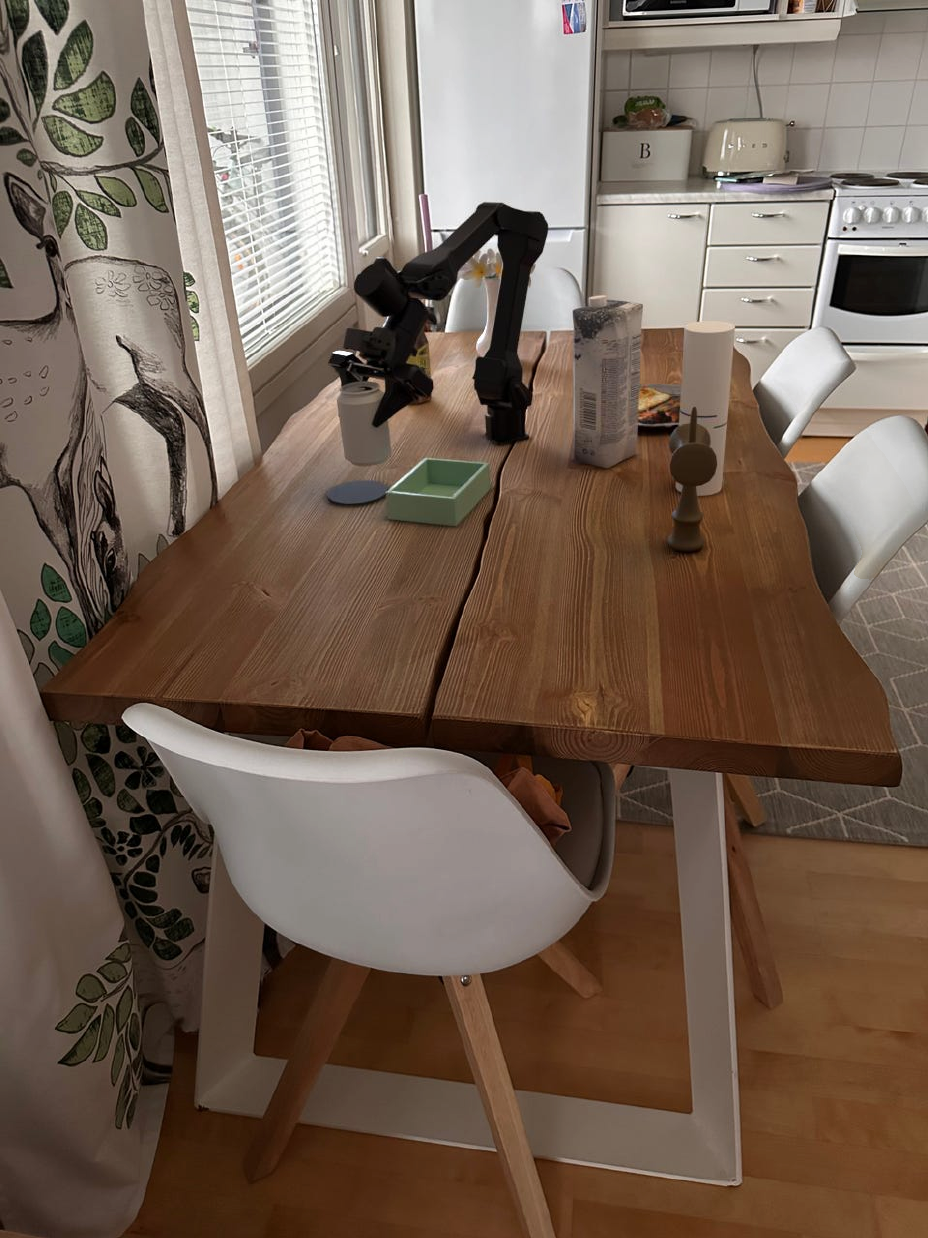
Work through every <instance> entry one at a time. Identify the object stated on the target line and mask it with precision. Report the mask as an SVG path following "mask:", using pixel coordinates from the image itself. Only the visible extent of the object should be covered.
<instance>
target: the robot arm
mask: <svg viewBox="0 0 928 1238" xmlns="http://www.w3.org/2000/svg"><path fill="white" fill-rule="evenodd" d="M548 234H549V223H548V221H547V220H546V216H545V215H544V214H543V213H542V212H540V211H537V210H536V211H534V210H522V209H519V208H516V207H513V206H511V205H508V204H506V203H504V202H495V201H494V202H492V201H484V202H483V201H482V203H479V204H478V205H477V206H476V207H475V211H474V212H473V213H472V214H471V215H470V216H468V217H467V218H466V219H465V220H464V222H463V223H461V224H460V225H459V226H458V227H457V228H456V229H455V230H454V231H453V232H452V233H451V234H450V235H448V237H447V238H446V239H445V240H443V241H442V242H441V243H440V244H439V245H438V246H437V247H435V248H433V249H431V250H428V251H425V252H421V253H420V254H418V255H416V256H414V257H413V258H411V259H410V260H408V261H407V262H406V263H405V264H404V265H403V267H402V268H401V270H399V271H397V270H396V269H395V267H393V265H392V263H391V261H389V260H388V258H386V257H376V258H375V260H374V261H373V263H371V264H368V266H366V267H364V269H363V270H361V271H360V273H358V274H357V275H356V277H355V279H354V282H353V290H354V293H355V294H356V295H357V296H358V297H359V298H360V299H361V300H362V301H363V302H364V303H365V304H366V305H367V306H368V307H369V308H370V309H371V310H372V311H374V313H375V314H376V315H378V316H379V317H382V318H386V319H385V321H384V323H383V325H382V326H374V328H373V329H372V331H371V330H366V329H360V328H354V327H346V329H345V333H344V339H343V344H342V349H344V350H353V351H356V352H359V354H358V356H356V355H355V354H354V353H353V352H347V351H343V350H342V351H341V350H338V351H337V350H336V351H334V352H332V354H331V356H330V358H329V360H328V362H327V365H328V366H329V367H331V368H332V369H333V370H334V372H335V373H336V374H337V375H338V377H339V379H340V388H341V387H342V386H344V385H346V384H350V383H354V382H363V381H369V379H370V378H371V379H377V380H381V381H384V395H383V397H382V400H381V402H380V404H379V407H378V409H377V411H376V414H375V416H374V419H373V422H372V425H373V426H374V427H376V428H378V427H379V426H381V425H382V424H383V423H384V422H386V421H387V420H388V421H389V419H392V417H393V416H394V415H397V413H398V412H400V411H401V410H403V409H405V408H406V407H407V406H409V405H411V404H413V403H412V402H413V401H418V400H419V398H418V397H422V398H427V399H429V397H430V395H431V393H433V391H434V389H435V385H434V379H432V377H431V378H430V377H429V376H428V375H427V374H426V373H425V372H424V371H423V370H422V369H421V368H420V367H419V366H418V365H414V364H409V363H407V361H408V359H409V357H410V356H413V357H416V355H417V353H418V351H417V350H416V349H415V348H414V346H415V344H416V342H417V340H418V338H419V336H420V334H421V332H422V330H424V328H425V325H431V326H437V324H438V319H437V316H436V314H435V308H434V307H433V306H427V305H425V303H424V302H423V301H422V300H426V301H435V302H440V301H441V302H442V301H443V300H444V299H445V298H446V297H447V296H448V295H449V293H450V292H451V291H452V290H453V288H454V287H455V285H456V284H457V282H458V276H459V272H460V271H459V270H460V269H461V268H462V267H463V266H464V265H465V264H467V262H468V261H469V260H470V259H471V258H472V257H474V255H475V254H476V253H477V252H478V251H479V250H480V251H481V249H482V248H483V247H484V246H485V245H486V244H487V243H489V241H490V240H491V239H493V237H494V236H495V237H496V238H497V239H496V248H497V250H498V253H499V254H500V256H501V259H502V262H503V267H502V273H501V280H500V286H499V292H498V299H497V305H496V311H495V318H494V324H493V330H492V337H491V343H490V348H489V350H488V351H487V352H486V354H485V355H484V356H483V357H482V356H480V355H477V357H476V359H475V367H474V373H473V375H472V378H471V379H472V380H473V389H474V391H475V392H476V395H477V398H478V401H479V404H480V405H481V406H486V411H487V413H486V414H485V415H484V422H485V423H484V424H485V433H484V436H485V437H486V438H487V439H489V440H490V441H492V442H494V443H495V444H496V445H499V446H500V445H504V444H509V443H515V442H521V441H524V440H529V439H530V435H529V434H527V433H526V410H528V407H531V406H532V402H533V399H534V398H533V397H534V393H533V392H532V391H531V390H530V389H529V388H528V386H527V385H526V384H525V383H524V382H523V373H524V369H523V365H522V362H521V359H520V357H519V354H518V350H519V344H520V339H521V338H520V337H521V331H522V325H523V319H524V313H525V308H526V301H527V296H528V295H527V294H528V291H529V290H528V289H529V287H528V284H529V278H531V274H530V272H531V268H532V266H533V265H534V264H536V262H537V261H538V260H539V258H540V257H541V256H542V254H543V253H544V249H545V245H546V242H547V238H548ZM359 357H360V358H361V359H362V360H365V361H366V363H365V362H364V361H362V360H361V359H360V358H359ZM337 416H338V417H339V412H338V414H337Z"/></svg>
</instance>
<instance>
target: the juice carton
mask: <svg viewBox="0 0 928 1238" xmlns="http://www.w3.org/2000/svg"><path fill="white" fill-rule="evenodd" d="M643 310H644V304H643V303H638V302H632V301H625V300H615V299H607V295H604V294H603V295H602V294H601V295H593V296H590V297H588V306H584V307H578V308H574V309H572V323H573V456H574V457H573V458H574V460H575V461H576V462H579V463H584V464H588V465H592V466H595V467H600V468H603V469H609V468H612V467H613V466H615V465H617V464H618V463H621V462H622V461H625V460H627V459H629V458H631V457H633V456H635V454H636V453H637V445H638V430H639V429H638V427H639V426H638V407H639V385H640V380H641V379H640V377H641V375H640V374H641V349H642V321H643Z"/></svg>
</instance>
